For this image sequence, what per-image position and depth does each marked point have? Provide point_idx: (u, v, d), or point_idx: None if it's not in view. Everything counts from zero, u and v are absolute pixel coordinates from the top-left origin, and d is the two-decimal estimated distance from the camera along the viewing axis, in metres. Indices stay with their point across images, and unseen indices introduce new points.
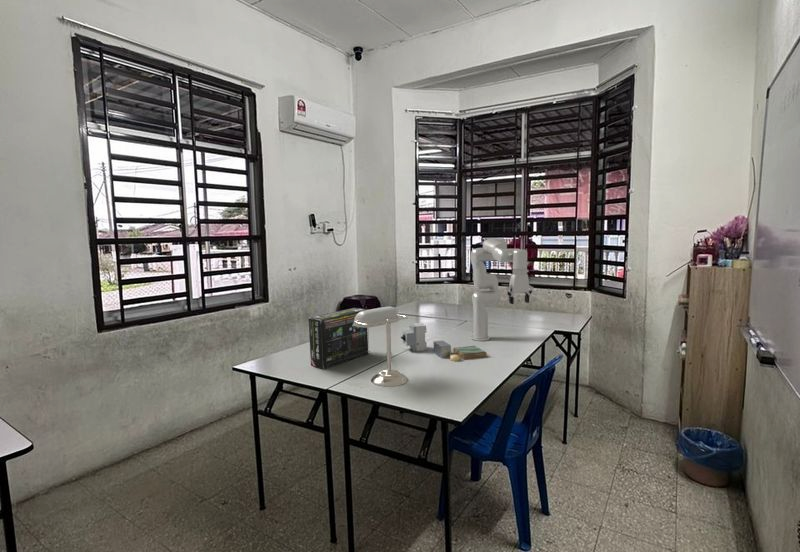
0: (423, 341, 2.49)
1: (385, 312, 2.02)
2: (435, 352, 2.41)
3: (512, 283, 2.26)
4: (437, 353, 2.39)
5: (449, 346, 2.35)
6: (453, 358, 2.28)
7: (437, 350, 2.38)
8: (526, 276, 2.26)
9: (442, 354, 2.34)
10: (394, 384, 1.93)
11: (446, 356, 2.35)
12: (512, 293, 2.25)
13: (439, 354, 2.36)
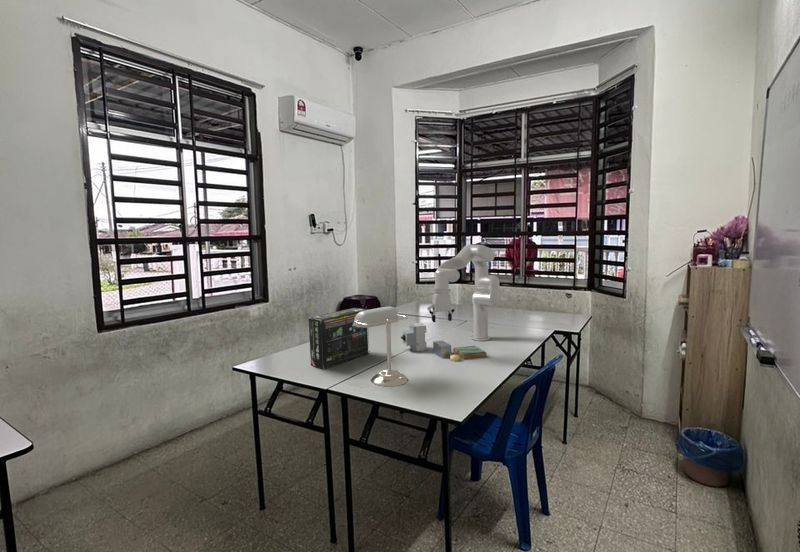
0: (423, 341, 2.49)
1: (385, 312, 2.02)
2: (435, 352, 2.41)
3: (434, 302, 2.35)
4: (437, 353, 2.38)
5: (449, 346, 2.35)
6: (453, 358, 2.28)
7: (438, 350, 2.38)
8: (447, 295, 2.35)
9: (443, 354, 2.34)
10: (394, 384, 1.93)
11: (446, 356, 2.35)
12: (434, 312, 2.34)
13: (440, 354, 2.36)
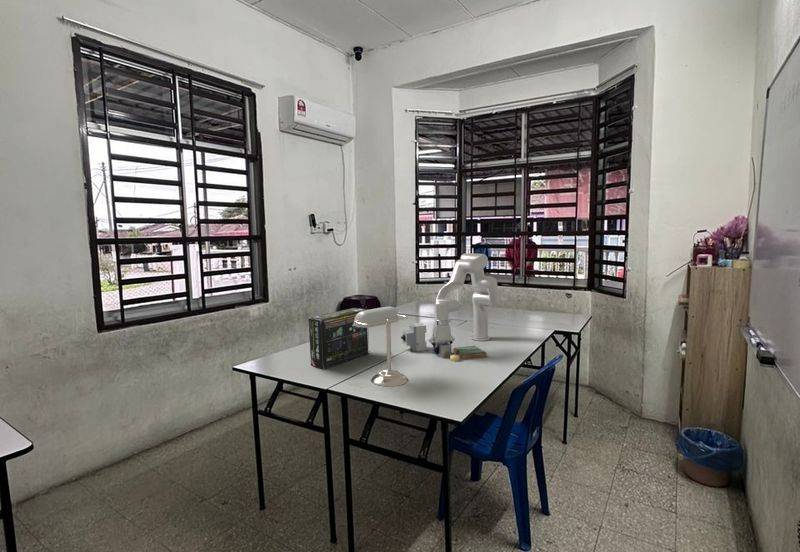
0: (423, 341, 2.49)
1: (385, 312, 2.02)
2: None
3: (434, 334, 2.37)
4: None
5: (450, 346, 2.35)
6: (453, 358, 2.28)
7: (438, 350, 2.38)
8: (448, 326, 2.37)
9: (443, 354, 2.34)
10: (394, 384, 1.93)
11: (447, 356, 2.35)
12: (435, 344, 2.37)
13: (440, 354, 2.35)
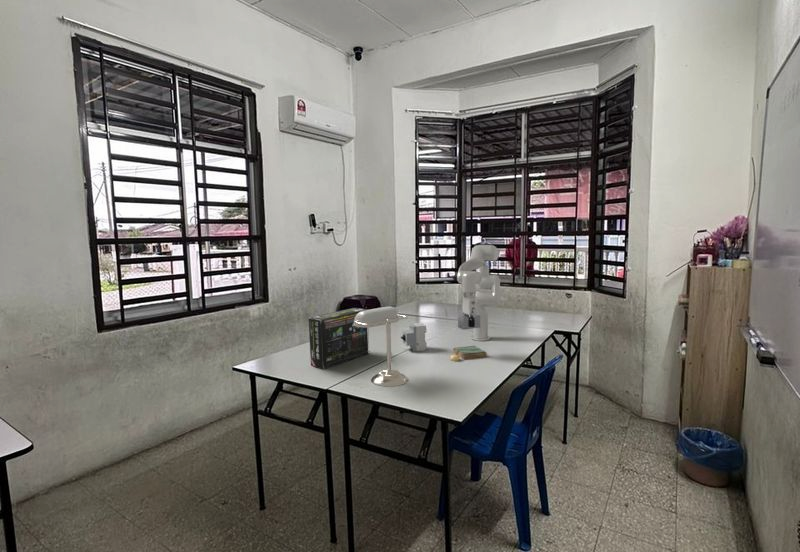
0: (423, 341, 2.49)
1: (385, 312, 2.02)
2: None
3: None
4: None
5: (462, 318, 2.33)
6: (453, 358, 2.28)
7: None
8: (467, 299, 2.33)
9: (458, 324, 2.38)
10: (394, 384, 1.93)
11: (461, 327, 2.36)
12: (463, 314, 2.41)
13: None
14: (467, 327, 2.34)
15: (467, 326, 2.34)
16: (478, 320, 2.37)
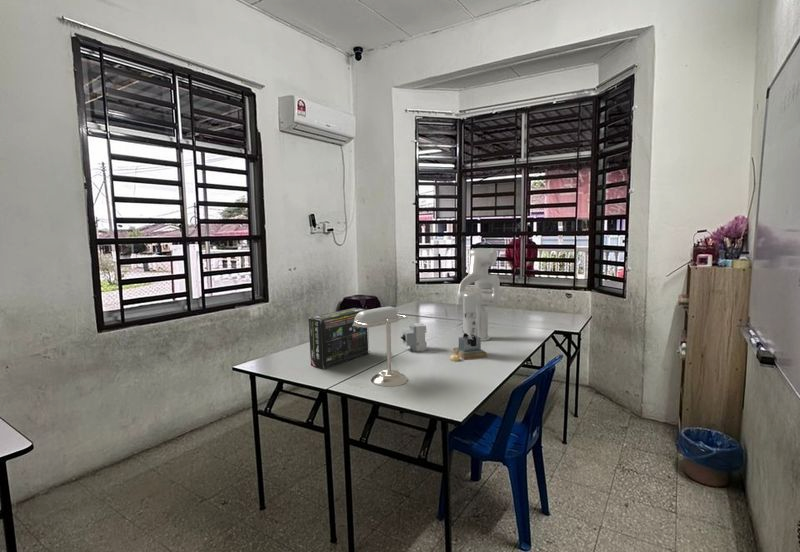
0: (423, 341, 2.49)
1: (385, 312, 2.02)
2: None
3: None
4: None
5: (463, 340, 2.35)
6: (453, 358, 2.28)
7: None
8: (468, 319, 2.34)
9: (459, 346, 2.39)
10: (394, 384, 1.93)
11: (461, 349, 2.37)
12: (463, 332, 2.43)
13: None
14: (467, 349, 2.36)
15: (467, 348, 2.36)
16: (478, 342, 2.38)
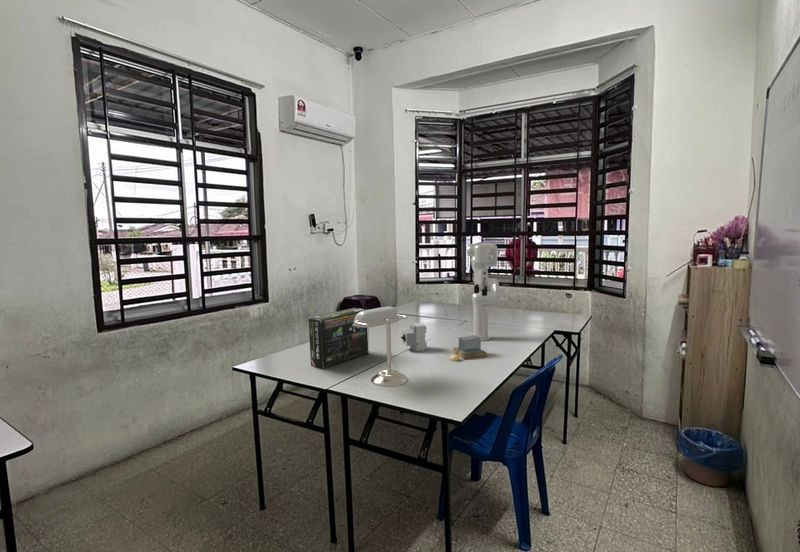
0: (423, 341, 2.49)
1: (385, 312, 2.02)
2: None
3: None
4: None
5: (463, 340, 2.35)
6: (453, 358, 2.28)
7: None
8: (479, 270, 2.42)
9: (459, 346, 2.39)
10: (394, 384, 1.93)
11: (461, 349, 2.37)
12: (474, 283, 2.51)
13: None
14: (467, 349, 2.36)
15: (467, 348, 2.36)
16: (478, 342, 2.38)
